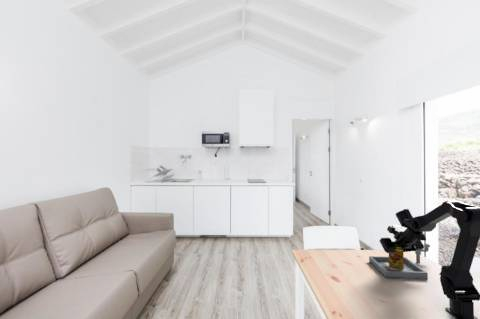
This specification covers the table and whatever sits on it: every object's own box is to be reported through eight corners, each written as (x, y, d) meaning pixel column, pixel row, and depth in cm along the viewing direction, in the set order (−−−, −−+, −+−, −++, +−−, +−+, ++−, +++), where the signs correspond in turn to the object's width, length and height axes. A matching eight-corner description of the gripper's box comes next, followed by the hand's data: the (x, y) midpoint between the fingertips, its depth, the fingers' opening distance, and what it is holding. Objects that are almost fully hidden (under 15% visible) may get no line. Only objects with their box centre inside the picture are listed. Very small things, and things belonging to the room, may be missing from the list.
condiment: (391, 270, 116) (391, 244, 116) (383, 262, 124) (383, 239, 124) (408, 271, 115) (408, 245, 115) (399, 263, 123) (399, 239, 123)
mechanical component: (430, 264, 126) (430, 244, 126) (408, 262, 128) (408, 243, 128) (427, 261, 129) (427, 242, 129) (406, 260, 131) (405, 241, 131)
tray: (427, 279, 111) (427, 272, 111) (385, 278, 113) (385, 271, 113) (405, 262, 129) (405, 257, 129) (369, 261, 130) (369, 256, 130)
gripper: (418, 219, 117) (401, 236, 128) (381, 221, 115) (367, 237, 126) (433, 241, 109) (413, 257, 120) (394, 243, 107) (378, 259, 118)
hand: (392, 251), depth 121 cm, fingers closed on condiment, 6 cm apart
